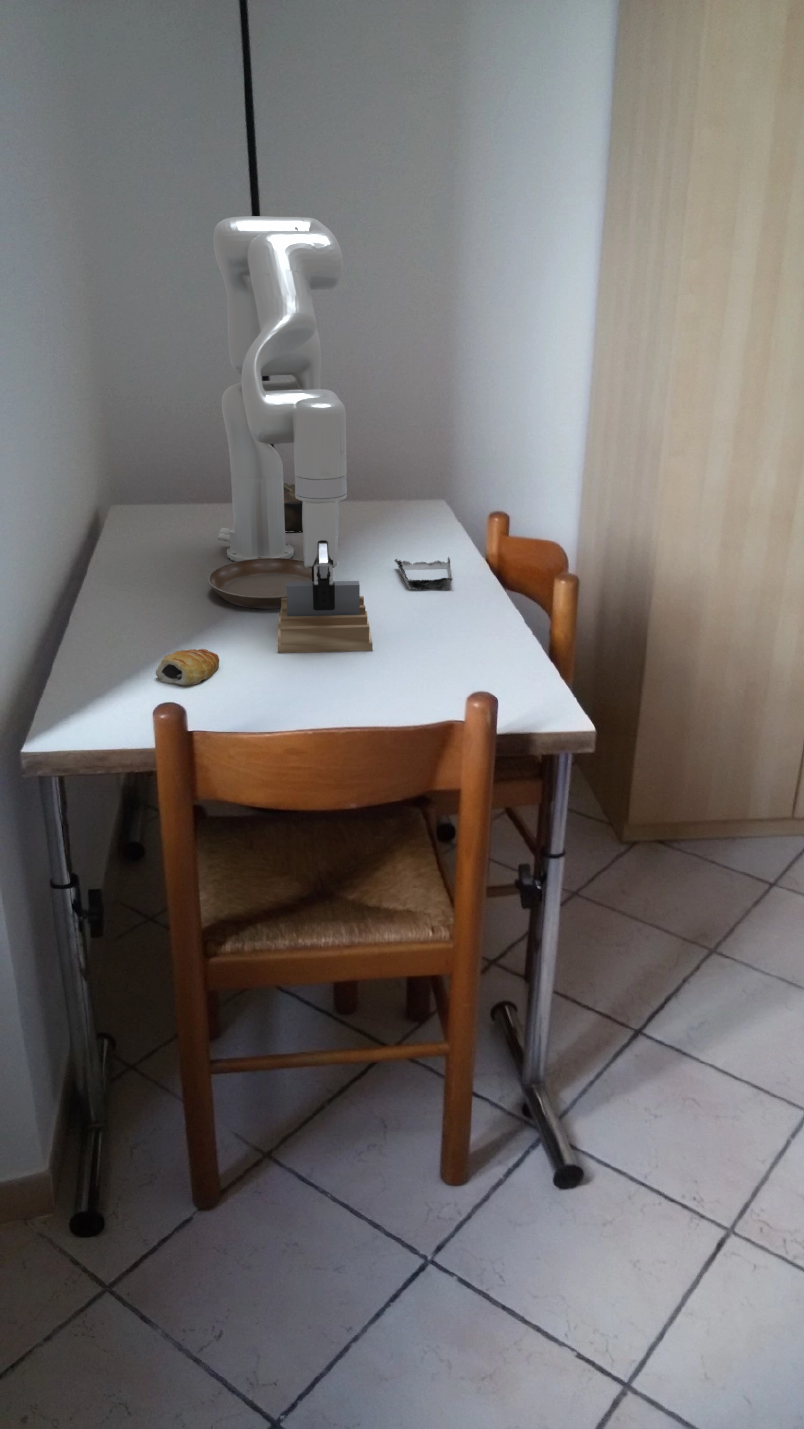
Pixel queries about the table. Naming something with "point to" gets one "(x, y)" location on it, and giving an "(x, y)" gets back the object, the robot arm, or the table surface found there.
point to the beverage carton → (292, 509)
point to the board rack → (323, 632)
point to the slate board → (303, 599)
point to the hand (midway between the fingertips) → (323, 599)
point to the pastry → (187, 666)
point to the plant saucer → (258, 581)
